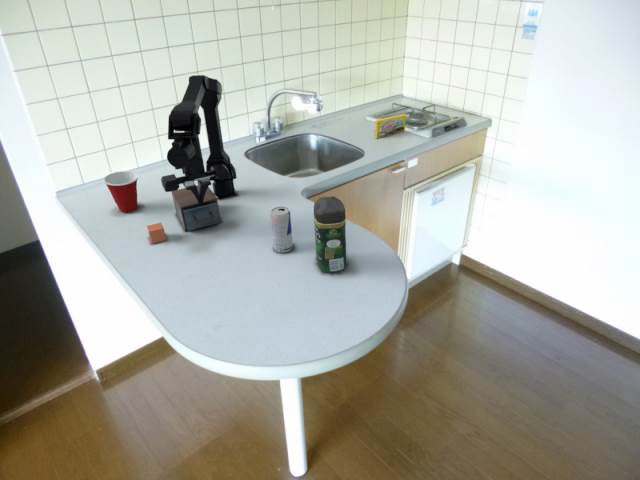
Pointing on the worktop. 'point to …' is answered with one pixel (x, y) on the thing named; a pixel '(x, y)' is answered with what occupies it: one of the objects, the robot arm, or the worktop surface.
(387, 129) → the candy box
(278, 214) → the energy drink
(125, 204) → the plastic cup
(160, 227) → the block
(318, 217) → the coffee jar
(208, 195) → the cabinet
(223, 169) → the robot arm
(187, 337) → the worktop surface
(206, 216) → the drawer
